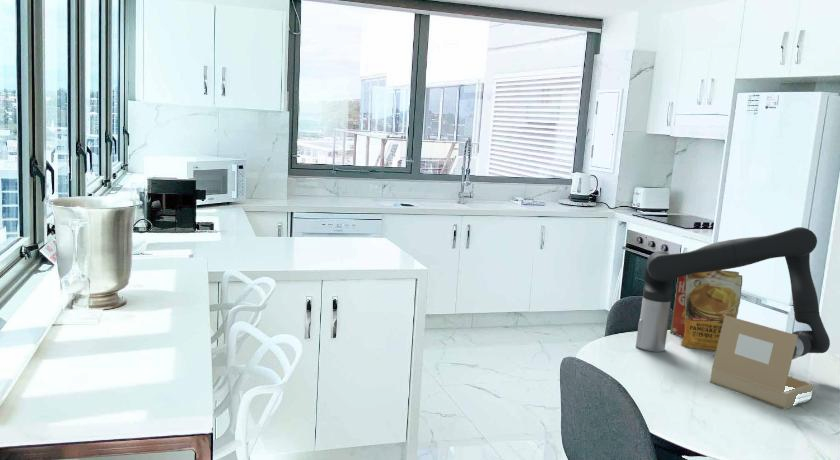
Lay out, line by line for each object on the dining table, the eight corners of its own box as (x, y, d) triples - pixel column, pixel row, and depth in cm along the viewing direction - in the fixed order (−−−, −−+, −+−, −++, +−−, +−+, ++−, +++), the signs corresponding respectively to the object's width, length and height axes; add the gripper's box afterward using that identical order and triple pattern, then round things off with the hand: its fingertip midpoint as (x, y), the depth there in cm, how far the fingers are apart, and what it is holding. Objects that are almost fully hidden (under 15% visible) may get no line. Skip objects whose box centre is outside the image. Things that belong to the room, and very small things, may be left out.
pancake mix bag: (674, 341, 249) (685, 264, 245) (731, 349, 245) (743, 271, 241) (677, 346, 243) (688, 268, 239) (735, 354, 239) (747, 274, 235)
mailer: (738, 374, 218) (740, 360, 217) (811, 399, 200) (813, 384, 199) (709, 382, 208) (712, 367, 207) (783, 409, 191) (786, 393, 190)
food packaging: (668, 333, 260) (677, 267, 256) (678, 329, 267) (687, 265, 263) (704, 342, 251) (714, 274, 247) (714, 338, 258) (723, 272, 254)
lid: (725, 315, 206) (724, 315, 206) (797, 335, 189) (797, 335, 189) (712, 367, 207) (711, 367, 206) (783, 392, 190) (783, 392, 190)
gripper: (764, 330, 214) (734, 336, 204) (809, 342, 203) (780, 350, 193) (761, 353, 215) (731, 361, 205) (805, 367, 205) (775, 375, 194)
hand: (754, 355), depth 199 cm, fingers closed
